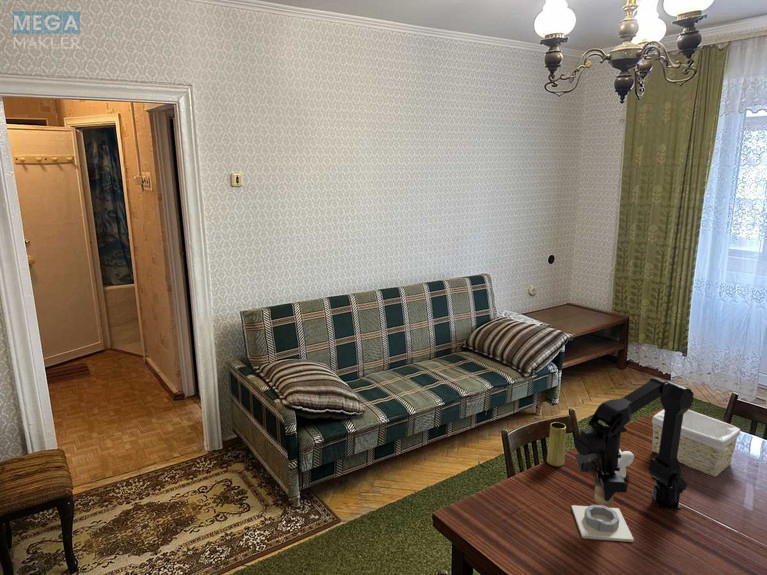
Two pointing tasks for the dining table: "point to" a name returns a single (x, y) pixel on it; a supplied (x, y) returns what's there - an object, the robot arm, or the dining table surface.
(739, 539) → the dining table surface
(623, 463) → the white curved piece
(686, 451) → the storage basket
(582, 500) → the dining table surface
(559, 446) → the vase
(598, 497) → the rotary grip knob
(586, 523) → the socket board
